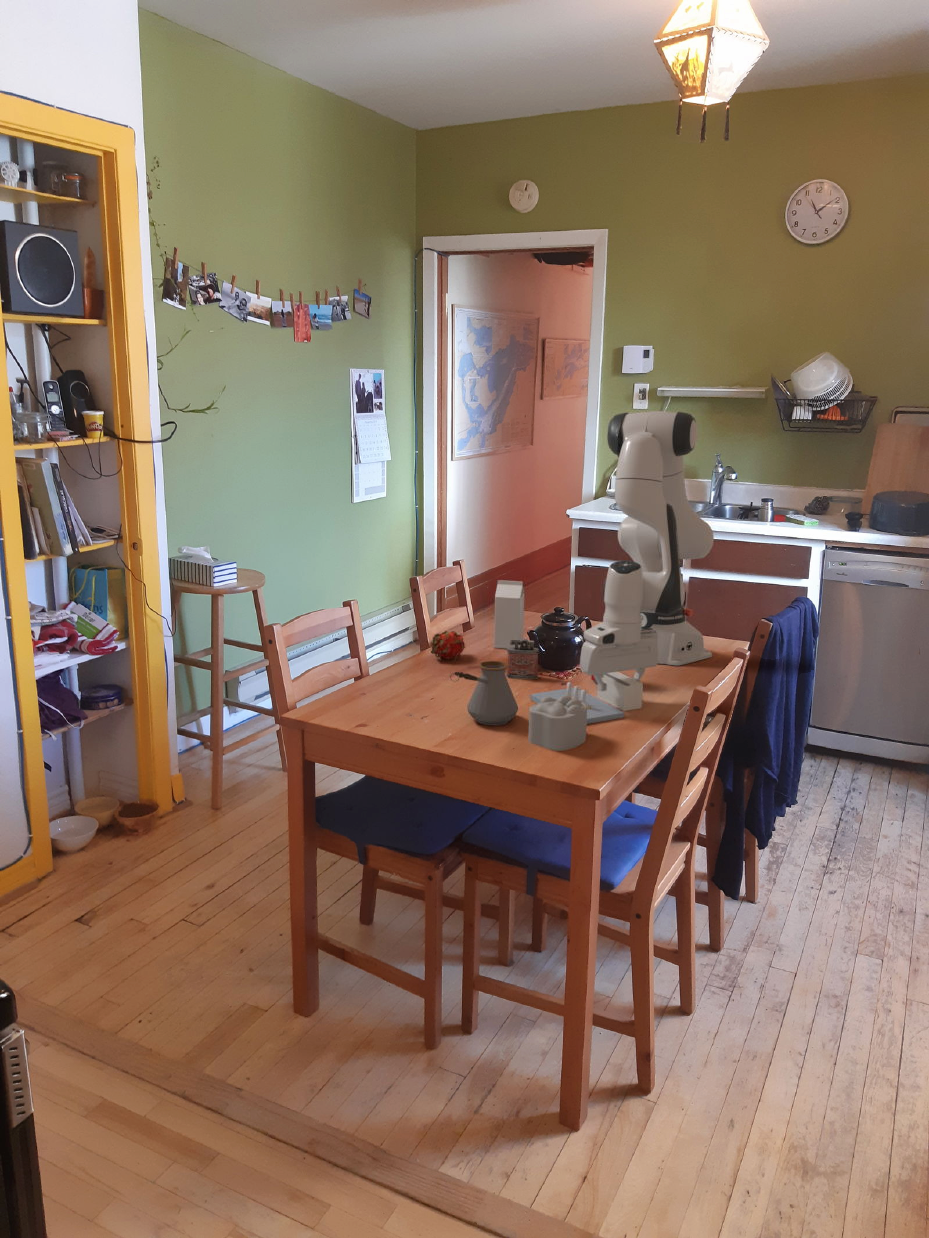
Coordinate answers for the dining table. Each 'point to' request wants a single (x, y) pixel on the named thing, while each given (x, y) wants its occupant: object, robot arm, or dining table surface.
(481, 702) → the coffee pot
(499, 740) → the dining table surface
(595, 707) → the board
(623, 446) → the robot arm
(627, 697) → the block
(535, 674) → the lighter
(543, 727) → the lumpy-topped squat cylinder
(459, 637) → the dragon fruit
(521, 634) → the milk carton
